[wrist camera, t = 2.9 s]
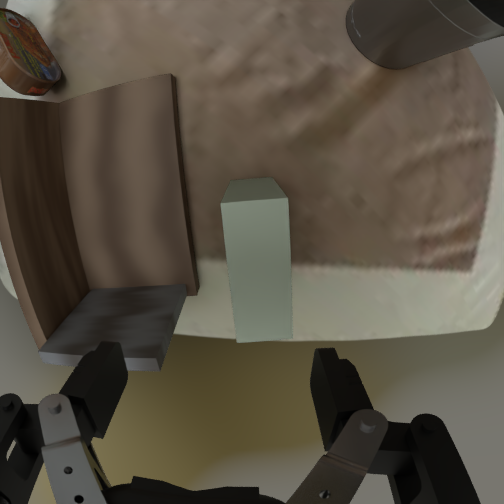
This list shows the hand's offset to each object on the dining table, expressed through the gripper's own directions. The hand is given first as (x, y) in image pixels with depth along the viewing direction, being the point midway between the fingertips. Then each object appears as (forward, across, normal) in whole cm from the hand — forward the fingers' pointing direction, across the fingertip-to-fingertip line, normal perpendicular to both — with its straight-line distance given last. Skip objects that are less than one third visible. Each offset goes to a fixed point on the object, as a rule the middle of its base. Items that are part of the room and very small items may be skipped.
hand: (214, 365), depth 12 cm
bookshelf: (+20, +12, -4) cm, 24 cm away
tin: (+20, +24, -22) cm, 38 cm away
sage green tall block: (+20, -2, 0) cm, 21 cm away
